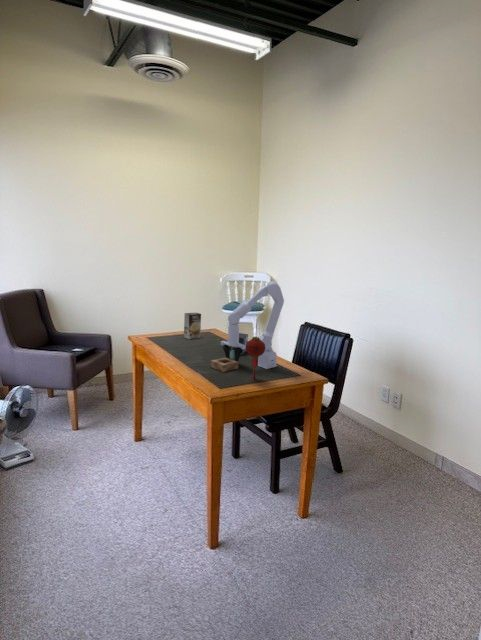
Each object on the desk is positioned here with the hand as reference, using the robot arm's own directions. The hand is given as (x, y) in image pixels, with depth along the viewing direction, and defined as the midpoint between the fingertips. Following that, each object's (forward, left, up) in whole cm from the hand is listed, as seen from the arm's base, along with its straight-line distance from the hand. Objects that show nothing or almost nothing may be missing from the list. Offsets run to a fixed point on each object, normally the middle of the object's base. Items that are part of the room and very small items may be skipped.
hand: (232, 360), depth 223 cm
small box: (+14, -18, -2) cm, 23 cm away
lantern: (-24, +7, -2) cm, 25 cm away
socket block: (-3, +8, -2) cm, 9 cm away
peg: (0, 0, -2) cm, 2 cm away
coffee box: (+59, -16, -2) cm, 61 cm away
